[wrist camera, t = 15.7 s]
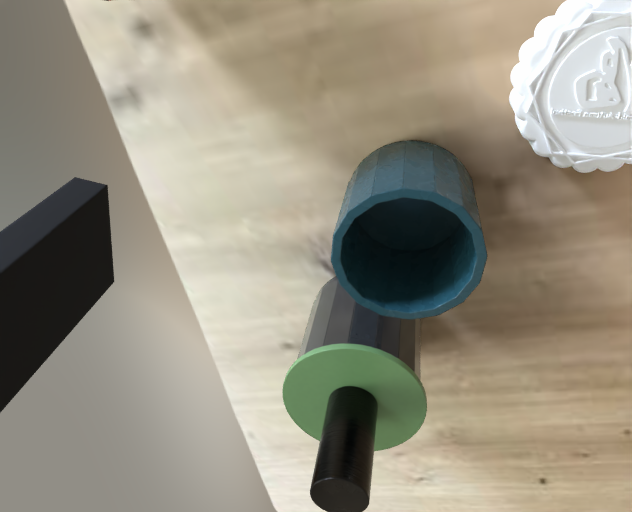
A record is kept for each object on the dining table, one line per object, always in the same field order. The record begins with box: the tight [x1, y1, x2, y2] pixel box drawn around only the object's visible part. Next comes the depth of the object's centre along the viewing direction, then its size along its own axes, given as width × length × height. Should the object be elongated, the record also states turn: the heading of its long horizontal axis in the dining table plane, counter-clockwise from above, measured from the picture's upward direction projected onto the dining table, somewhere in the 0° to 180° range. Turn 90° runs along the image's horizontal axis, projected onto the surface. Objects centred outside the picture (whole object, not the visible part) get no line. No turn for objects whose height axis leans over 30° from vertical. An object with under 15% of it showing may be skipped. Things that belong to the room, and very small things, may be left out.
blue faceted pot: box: [331, 141, 487, 320], centre depth 40 cm, size 11×11×10 cm
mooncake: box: [509, 0, 632, 173], centre depth 35 cm, size 12×12×4 cm
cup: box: [297, 276, 421, 379], centre depth 47 cm, size 10×10×11 cm
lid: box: [283, 344, 427, 512], centre depth 39 cm, size 12×12×10 cm
